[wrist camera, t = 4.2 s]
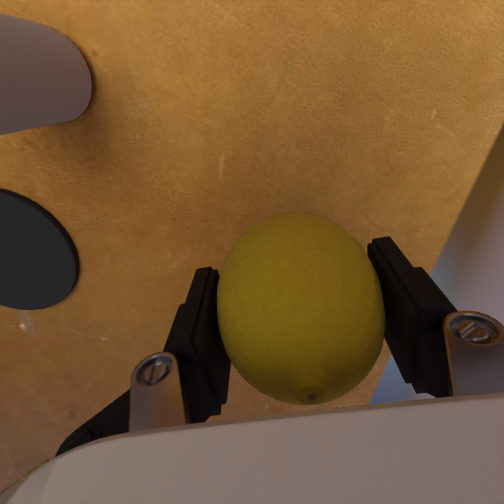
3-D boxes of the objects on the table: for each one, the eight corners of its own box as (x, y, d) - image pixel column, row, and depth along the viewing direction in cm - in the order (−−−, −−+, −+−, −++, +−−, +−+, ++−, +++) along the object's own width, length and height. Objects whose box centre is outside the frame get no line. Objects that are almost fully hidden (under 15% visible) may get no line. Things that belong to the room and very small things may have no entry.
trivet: (-87, 239, 23) (-95, 242, 23) (-13, 156, 20) (-20, 158, 20) (29, 324, 27) (24, 329, 27) (106, 264, 24) (103, 268, 24)
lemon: (333, 297, 16) (385, 469, 9) (224, 284, 16) (193, 450, 9) (365, 193, 13) (475, 325, 6) (234, 176, 13) (201, 293, 6)
